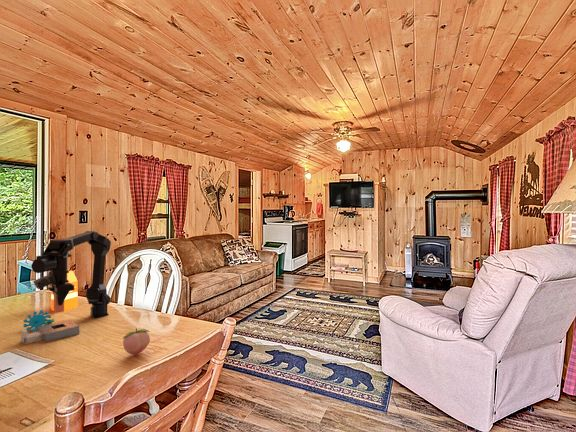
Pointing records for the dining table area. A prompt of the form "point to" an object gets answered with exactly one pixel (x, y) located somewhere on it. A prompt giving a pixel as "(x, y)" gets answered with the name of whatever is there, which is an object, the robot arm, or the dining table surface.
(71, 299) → the orange juice
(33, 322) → the gear
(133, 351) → the decorative fruit
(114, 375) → the dining table surface
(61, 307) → the terracotta rectangular prism
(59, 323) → the grey square hole block
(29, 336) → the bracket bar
